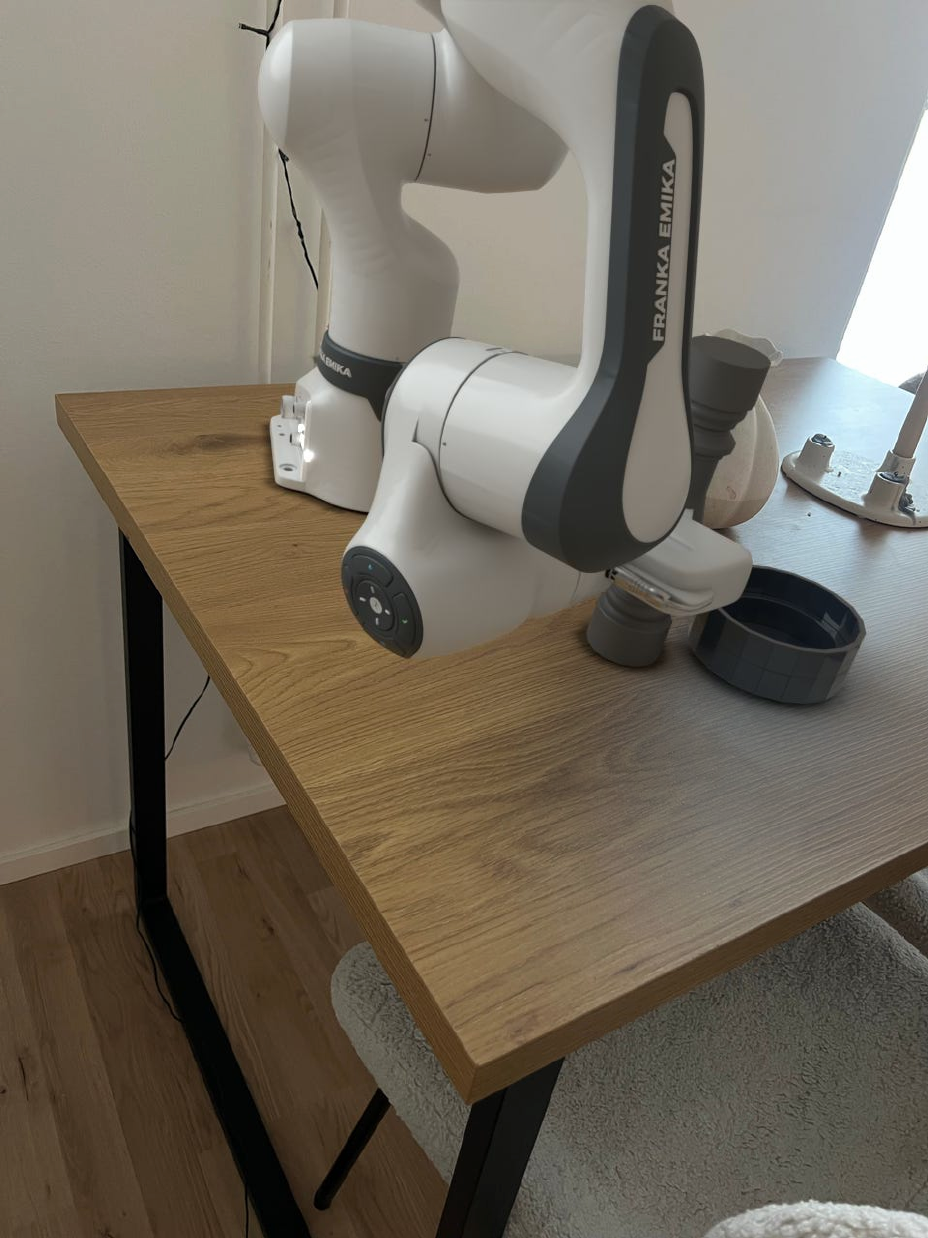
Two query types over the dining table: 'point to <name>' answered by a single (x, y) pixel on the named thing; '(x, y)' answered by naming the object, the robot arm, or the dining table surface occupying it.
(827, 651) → the bowl
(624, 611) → the candle holder
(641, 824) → the dining table surface
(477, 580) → the robot arm
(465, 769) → the dining table surface
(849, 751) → the dining table surface
